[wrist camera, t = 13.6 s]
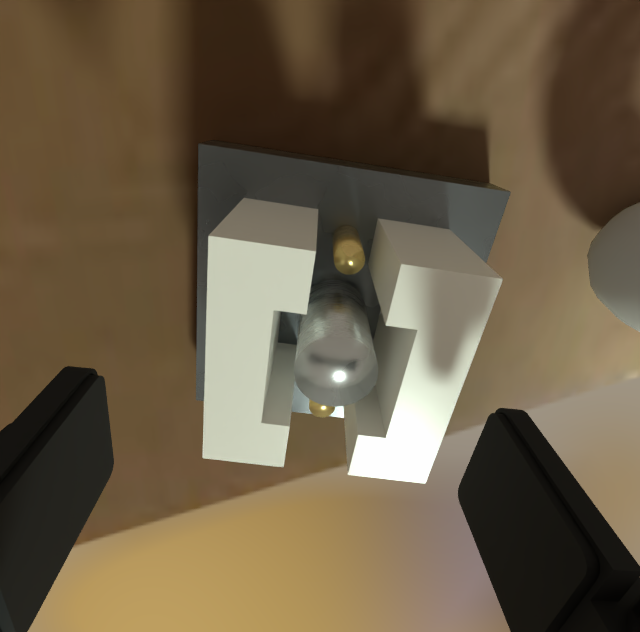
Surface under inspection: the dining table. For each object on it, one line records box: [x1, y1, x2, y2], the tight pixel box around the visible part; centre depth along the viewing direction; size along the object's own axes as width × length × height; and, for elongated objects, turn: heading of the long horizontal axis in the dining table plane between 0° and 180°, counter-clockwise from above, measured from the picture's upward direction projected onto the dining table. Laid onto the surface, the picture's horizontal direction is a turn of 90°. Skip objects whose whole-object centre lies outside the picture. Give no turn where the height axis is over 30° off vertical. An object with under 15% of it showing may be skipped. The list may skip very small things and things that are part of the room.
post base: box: [196, 140, 511, 418], centre depth 15 cm, size 11×11×6 cm
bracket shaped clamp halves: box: [203, 198, 503, 483], centre depth 14 cm, size 8×8×5 cm
